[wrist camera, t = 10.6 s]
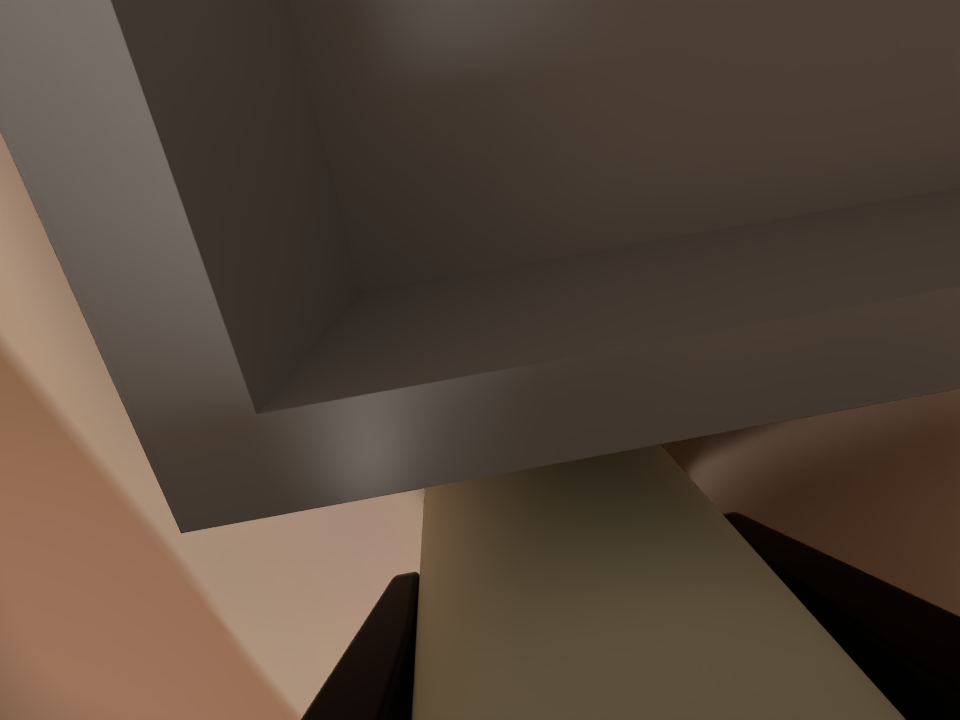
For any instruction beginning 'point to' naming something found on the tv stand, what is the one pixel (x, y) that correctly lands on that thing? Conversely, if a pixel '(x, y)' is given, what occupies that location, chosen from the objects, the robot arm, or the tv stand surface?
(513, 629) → the sage capsule
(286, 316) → the tote
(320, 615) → the tv stand surface
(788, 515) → the tv stand surface
